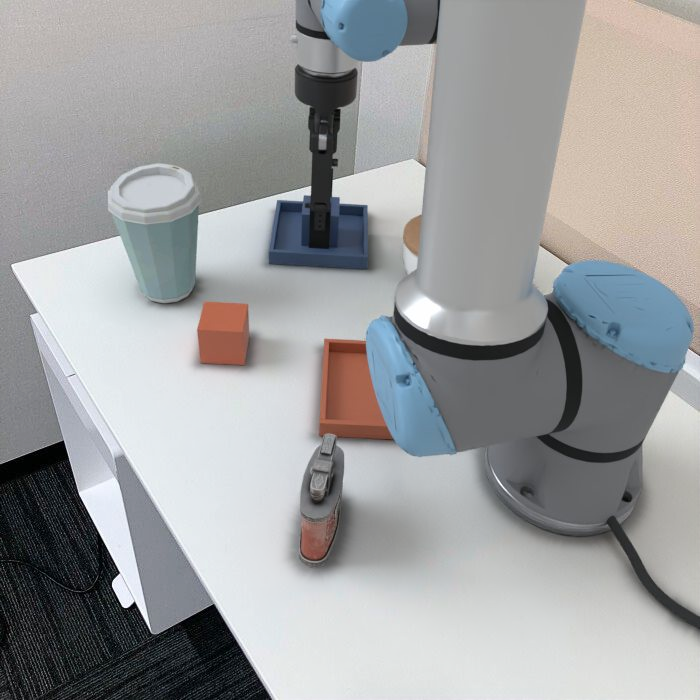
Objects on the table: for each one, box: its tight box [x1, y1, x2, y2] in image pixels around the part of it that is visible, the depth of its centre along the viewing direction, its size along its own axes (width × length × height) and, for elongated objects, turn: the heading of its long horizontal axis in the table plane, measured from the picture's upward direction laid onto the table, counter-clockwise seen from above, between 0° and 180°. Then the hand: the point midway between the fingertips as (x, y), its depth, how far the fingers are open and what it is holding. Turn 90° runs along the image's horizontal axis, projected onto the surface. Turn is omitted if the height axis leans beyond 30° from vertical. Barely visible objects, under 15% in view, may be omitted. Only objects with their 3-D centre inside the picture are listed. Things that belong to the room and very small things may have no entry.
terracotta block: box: [196, 301, 250, 366], centre depth 84 cm, size 5×5×5 cm
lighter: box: [298, 434, 345, 568], centre depth 65 cm, size 8×3×10 cm, turn 170°
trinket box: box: [402, 214, 422, 276], centre depth 95 cm, size 11×11×9 cm
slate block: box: [301, 194, 341, 247], centre depth 102 cm, size 5×5×5 cm
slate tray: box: [268, 199, 369, 270], centre depth 103 cm, size 13×13×2 cm
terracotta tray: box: [318, 338, 394, 440], centre depth 81 cm, size 13×13×2 cm
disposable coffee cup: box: [107, 162, 202, 304], centre depth 89 cm, size 11×11×15 cm
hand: (320, 227), depth 103 cm, fingers open, 9 cm apart
